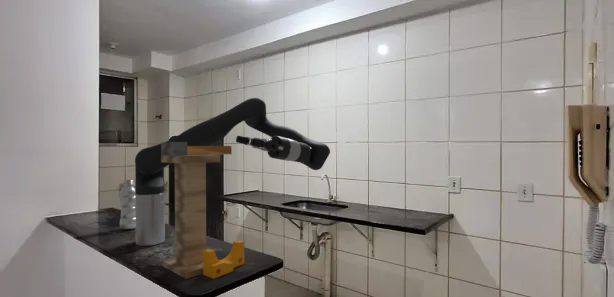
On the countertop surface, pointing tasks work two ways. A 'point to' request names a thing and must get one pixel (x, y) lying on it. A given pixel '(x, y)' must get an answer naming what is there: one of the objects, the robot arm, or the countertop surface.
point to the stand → (189, 213)
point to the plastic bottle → (128, 205)
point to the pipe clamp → (223, 260)
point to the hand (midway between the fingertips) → (244, 140)
